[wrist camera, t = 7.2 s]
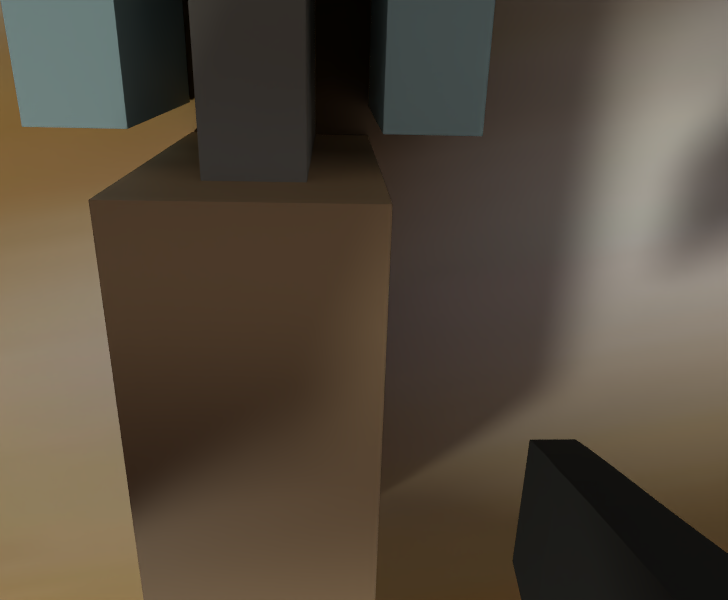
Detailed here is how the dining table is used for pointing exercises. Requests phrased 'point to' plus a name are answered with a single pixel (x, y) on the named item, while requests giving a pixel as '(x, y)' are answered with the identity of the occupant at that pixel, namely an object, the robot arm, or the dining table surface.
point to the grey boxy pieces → (170, 77)
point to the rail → (250, 327)
